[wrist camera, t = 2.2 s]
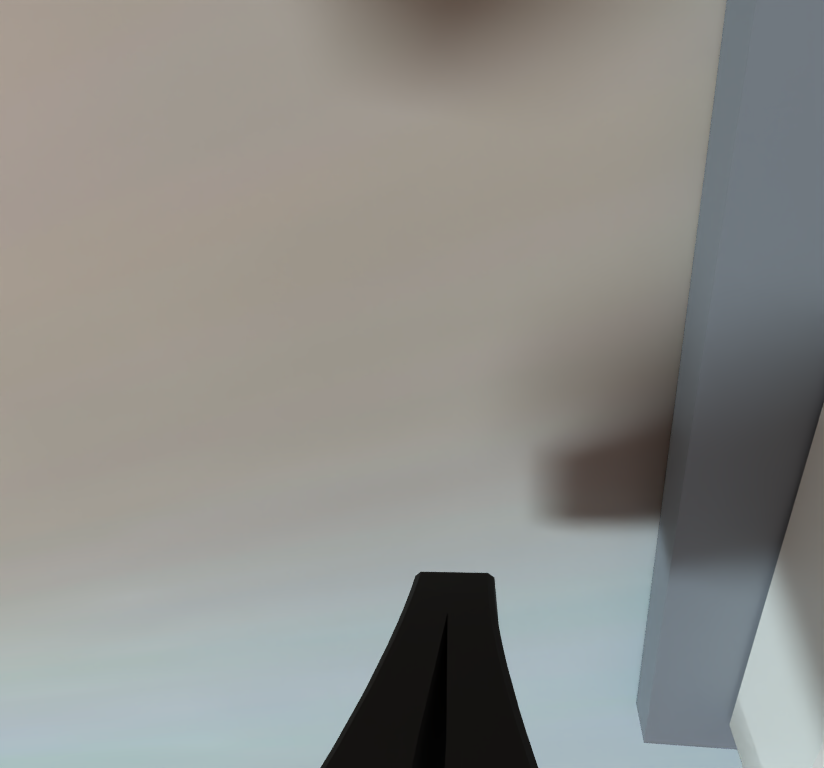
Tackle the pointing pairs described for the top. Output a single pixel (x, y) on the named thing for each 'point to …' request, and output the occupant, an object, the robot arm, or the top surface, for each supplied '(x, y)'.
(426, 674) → the robot arm
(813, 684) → the white u-shaped piece
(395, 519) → the top surface
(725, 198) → the board
